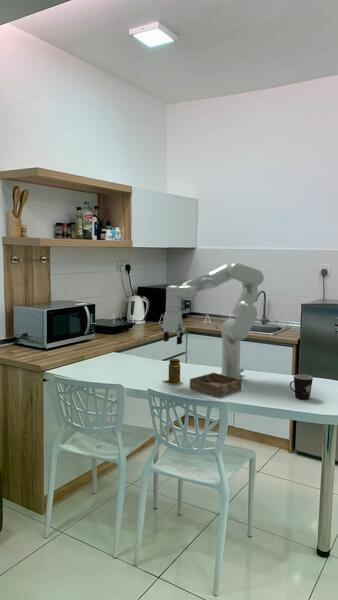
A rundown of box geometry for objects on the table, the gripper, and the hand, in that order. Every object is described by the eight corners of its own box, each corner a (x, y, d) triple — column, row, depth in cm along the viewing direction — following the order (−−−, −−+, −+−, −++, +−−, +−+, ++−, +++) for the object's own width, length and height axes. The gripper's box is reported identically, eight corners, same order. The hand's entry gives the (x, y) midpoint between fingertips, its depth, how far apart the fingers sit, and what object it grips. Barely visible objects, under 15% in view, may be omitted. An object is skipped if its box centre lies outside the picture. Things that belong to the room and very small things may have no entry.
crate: (213, 381, 238) (213, 372, 237) (241, 389, 225) (241, 379, 225) (189, 388, 226) (189, 379, 225) (217, 397, 213) (218, 387, 212)
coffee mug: (308, 394, 218) (309, 374, 217) (314, 400, 209) (315, 379, 208) (284, 394, 218) (285, 374, 217) (289, 400, 209) (290, 379, 208)
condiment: (183, 382, 236) (183, 360, 235) (169, 385, 232) (170, 362, 230) (175, 379, 242) (175, 357, 241) (162, 381, 238) (162, 359, 236)
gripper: (156, 308, 237) (155, 340, 238) (180, 312, 224) (179, 346, 226) (166, 307, 242) (166, 339, 244) (190, 310, 229) (189, 344, 231)
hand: (172, 342), depth 235 cm, fingers open, 9 cm apart
